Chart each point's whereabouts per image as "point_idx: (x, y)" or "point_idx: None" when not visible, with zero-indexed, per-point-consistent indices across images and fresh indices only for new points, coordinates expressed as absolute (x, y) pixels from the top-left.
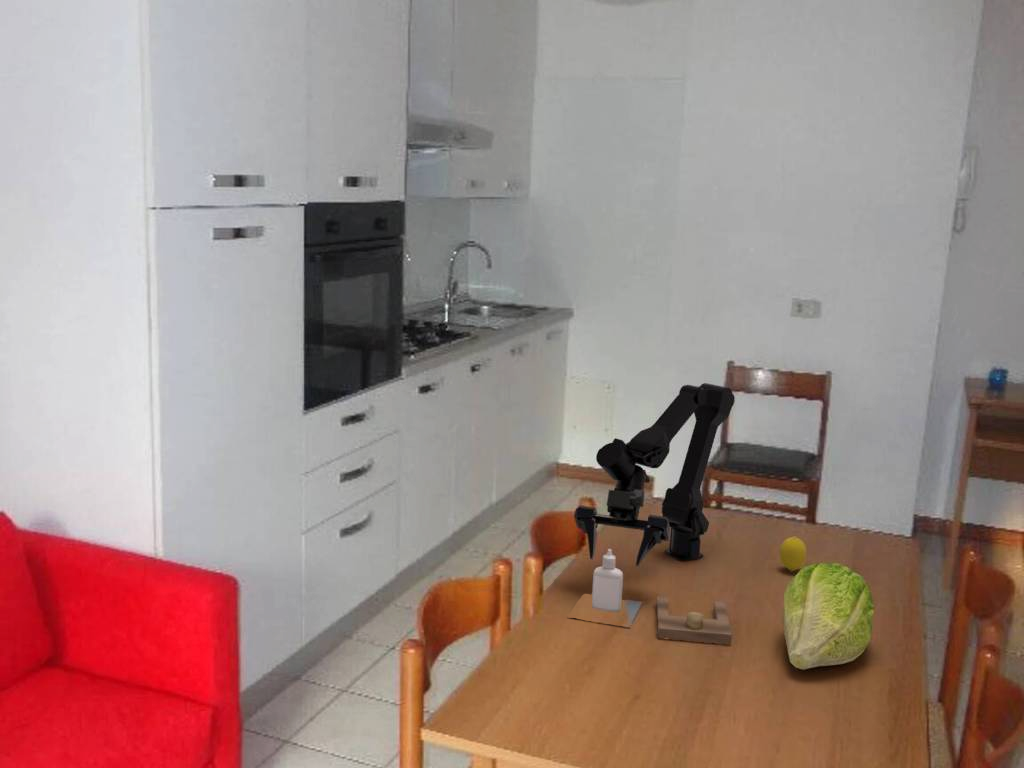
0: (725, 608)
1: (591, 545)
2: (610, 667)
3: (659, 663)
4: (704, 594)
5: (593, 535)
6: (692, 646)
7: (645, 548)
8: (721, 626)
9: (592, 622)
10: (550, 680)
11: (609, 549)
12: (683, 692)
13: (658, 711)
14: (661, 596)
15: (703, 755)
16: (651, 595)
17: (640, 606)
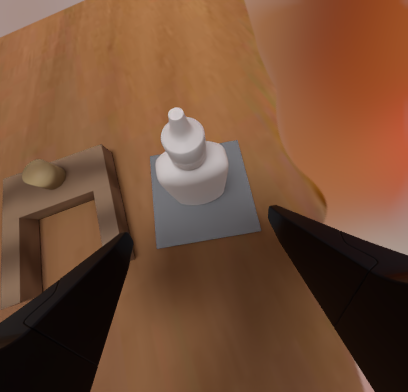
0: (2, 273)
1: (302, 221)
2: (145, 73)
3: (100, 103)
4: None
5: (344, 253)
6: None
7: (59, 280)
8: (15, 197)
9: None
10: (186, 31)
11: (177, 115)
12: (72, 71)
13: (89, 40)
14: None
15: (53, 17)
16: (153, 299)
17: (156, 233)
